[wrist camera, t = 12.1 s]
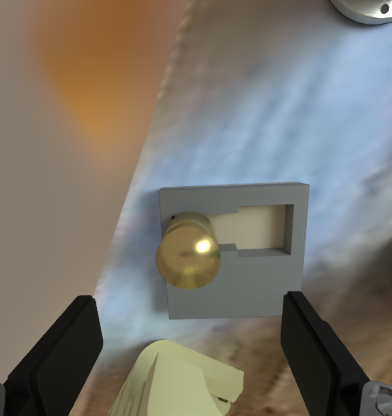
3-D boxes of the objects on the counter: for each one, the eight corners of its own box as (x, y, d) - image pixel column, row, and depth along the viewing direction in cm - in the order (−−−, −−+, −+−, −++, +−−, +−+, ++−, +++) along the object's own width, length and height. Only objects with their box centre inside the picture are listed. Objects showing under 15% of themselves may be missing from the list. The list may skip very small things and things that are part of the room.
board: (163, 187, 26) (158, 191, 23) (295, 181, 25) (309, 184, 22) (172, 302, 29) (169, 319, 26) (288, 298, 29) (299, 315, 26)
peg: (168, 206, 25) (153, 231, 16) (212, 204, 25) (220, 228, 16) (171, 247, 26) (159, 290, 18) (213, 245, 26) (221, 288, 18)
